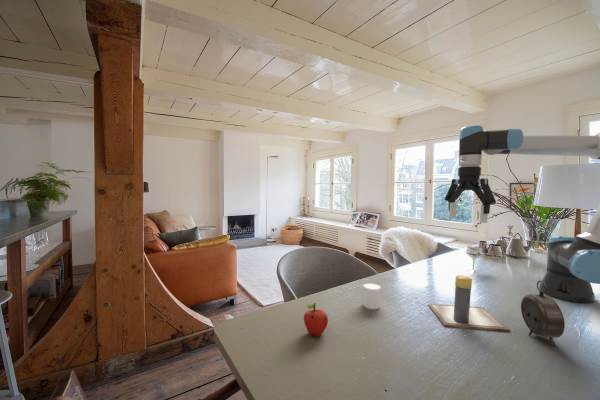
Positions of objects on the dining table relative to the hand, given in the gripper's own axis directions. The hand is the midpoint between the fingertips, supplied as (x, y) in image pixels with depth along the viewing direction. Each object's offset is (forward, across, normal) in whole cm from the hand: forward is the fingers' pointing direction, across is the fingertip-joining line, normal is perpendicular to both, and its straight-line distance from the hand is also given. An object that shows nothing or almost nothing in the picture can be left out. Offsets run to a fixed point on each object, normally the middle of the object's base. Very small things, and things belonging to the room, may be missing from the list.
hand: (467, 220), depth 104 cm
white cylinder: (+29, +1, -43) cm, 52 cm away
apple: (+29, +12, -69) cm, 75 cm away
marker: (+28, +19, -23) cm, 41 cm away
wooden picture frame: (+29, +17, -19) cm, 38 cm away
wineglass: (+29, -17, +26) cm, 42 cm away
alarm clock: (+29, +31, -9) cm, 43 cm away
